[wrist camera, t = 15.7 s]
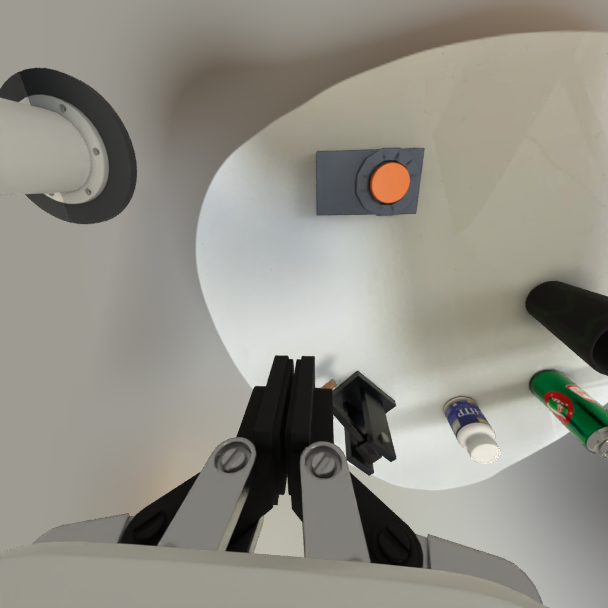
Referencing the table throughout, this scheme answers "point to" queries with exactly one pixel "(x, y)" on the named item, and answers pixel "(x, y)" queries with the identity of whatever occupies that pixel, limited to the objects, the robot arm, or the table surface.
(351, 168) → the control block
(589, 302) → the cup
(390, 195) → the button
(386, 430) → the switch bracket
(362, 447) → the lever
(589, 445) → the soda can
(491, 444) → the pill bottle
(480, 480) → the table surface
